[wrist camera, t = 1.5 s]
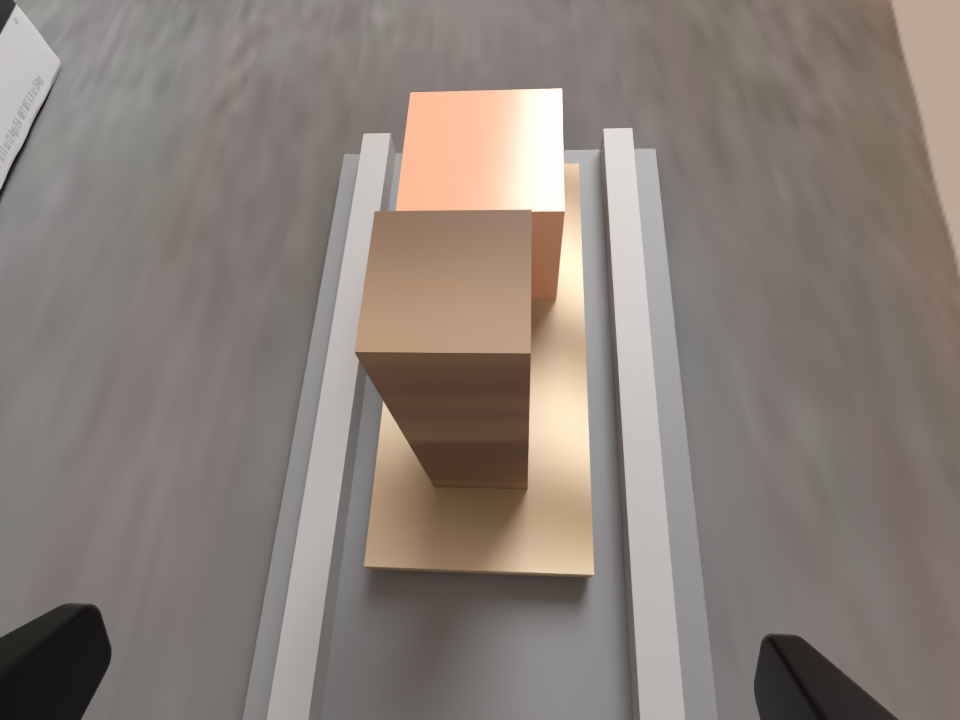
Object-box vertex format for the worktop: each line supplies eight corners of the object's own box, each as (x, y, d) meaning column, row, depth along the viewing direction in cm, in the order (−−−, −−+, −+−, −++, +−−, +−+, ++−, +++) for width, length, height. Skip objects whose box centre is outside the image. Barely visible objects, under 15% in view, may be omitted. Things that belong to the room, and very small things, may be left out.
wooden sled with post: (590, 577, 19) (667, 508, 9) (371, 569, 19) (207, 495, 9) (576, 180, 25) (610, -115, 15) (414, 182, 26) (346, -101, 16)
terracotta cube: (556, 299, 22) (564, 211, 17) (421, 299, 22) (395, 213, 18) (554, 192, 24) (561, 88, 19) (431, 193, 24) (410, 92, 20)
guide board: (749, 1111, 14) (785, 1186, 12) (197, 1053, 16) (149, 1114, 14) (651, 164, 27) (660, 127, 25) (350, 169, 28) (337, 134, 26)
